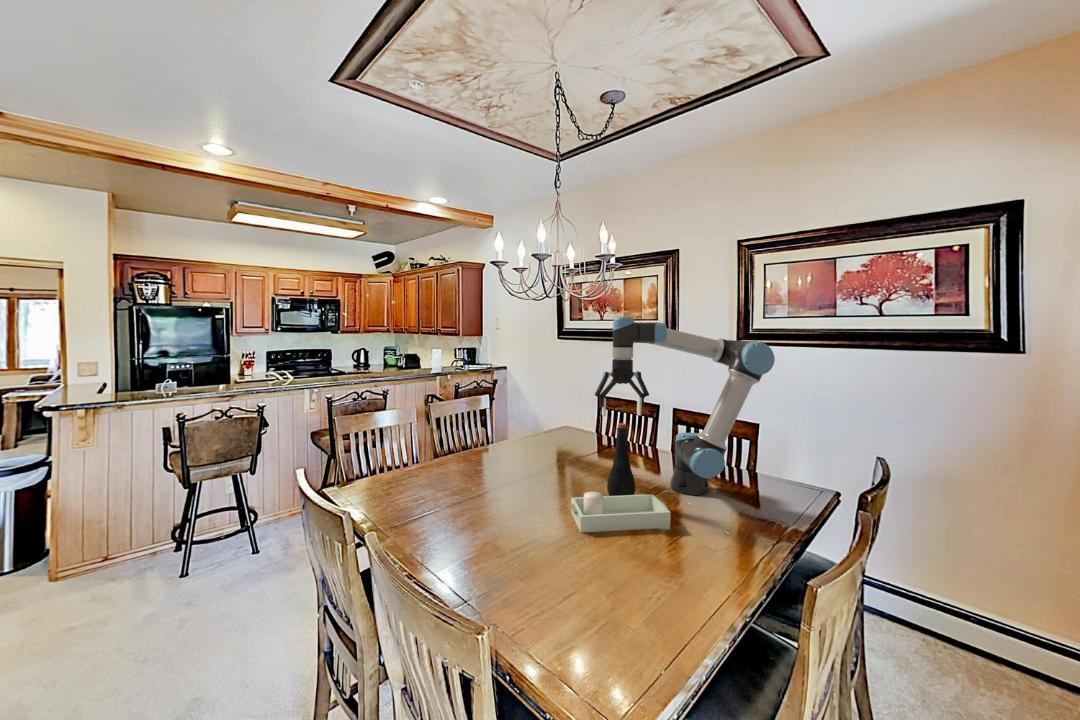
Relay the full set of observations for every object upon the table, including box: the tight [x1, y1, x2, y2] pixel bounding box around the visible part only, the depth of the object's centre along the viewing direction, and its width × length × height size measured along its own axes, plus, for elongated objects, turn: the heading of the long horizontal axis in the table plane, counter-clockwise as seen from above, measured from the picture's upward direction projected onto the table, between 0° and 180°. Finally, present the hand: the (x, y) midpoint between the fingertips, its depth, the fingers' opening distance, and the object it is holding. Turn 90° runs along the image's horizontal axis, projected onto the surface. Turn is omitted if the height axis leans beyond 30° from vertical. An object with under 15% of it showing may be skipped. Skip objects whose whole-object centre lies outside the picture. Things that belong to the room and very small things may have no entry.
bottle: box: [606, 422, 636, 496], centre depth 172 cm, size 11×11×30 cm
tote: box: [570, 493, 672, 534], centre depth 156 cm, size 32×16×6 cm, turn 97°
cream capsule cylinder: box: [583, 491, 604, 515], centre depth 154 cm, size 6×6×9 cm
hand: (621, 415), depth 171 cm, fingers open, 13 cm apart
